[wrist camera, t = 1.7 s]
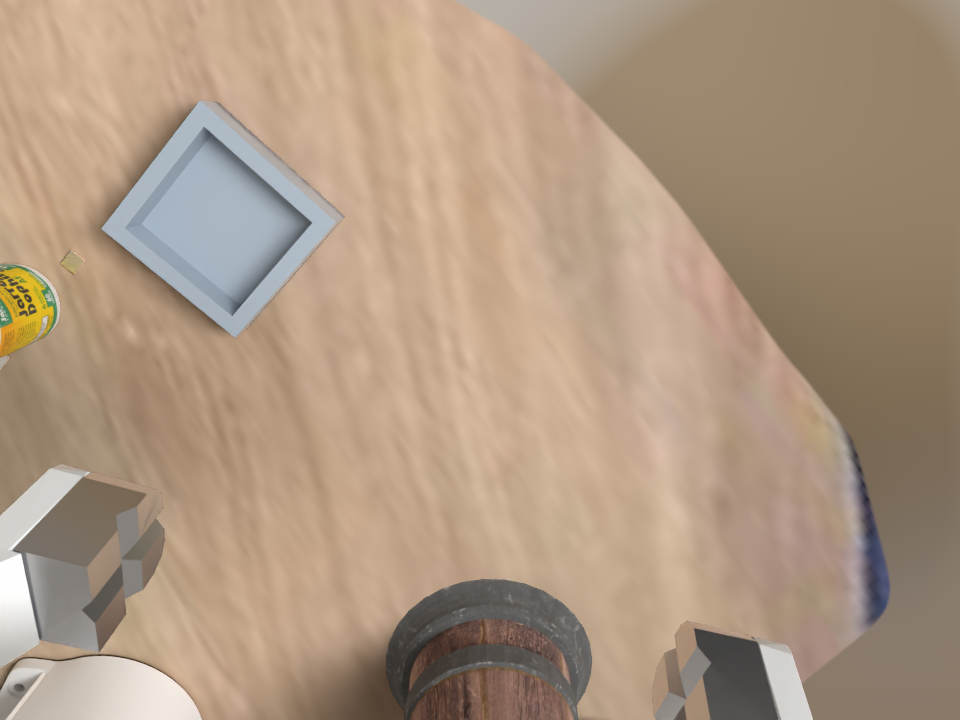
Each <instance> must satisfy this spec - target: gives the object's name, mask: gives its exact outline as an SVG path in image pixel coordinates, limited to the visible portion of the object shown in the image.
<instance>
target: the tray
mask: <svg viewBox="0 0 960 720" xmlns="http://www.w3.org/2000/svg"><path fill="white" fill-rule="evenodd" d="M343 218H344V216H343V215H342V214H341V213H340V212H339V211H338V210H337V209H336V208H334V207H333V206H332V205H331V204H330V203H329V202H328V201H327V200H326V199H325V198H323V197H322V196H321V195H320V194H319V193H318V192H317V191H316V190H315V189H313V188H312V187H311V186H310V185H309V184H308V183H307V182H306V181H305V180H304V179H302V178H301V177H300V176H299V175H298V174H297V173H296V172H295V171H294V170H292V169H291V168H290V167H289V166H288V165H287V164H286V163H285V162H284V161H283V160H281V159H280V158H279V157H278V156H277V155H276V154H275V153H274V152H273V151H271V150H270V149H269V148H268V147H267V146H266V145H265V144H264V143H263V142H262V141H260V140H259V139H258V138H257V137H256V136H255V135H254V134H253V133H252V132H250V131H249V130H248V129H247V128H246V127H245V126H244V125H243V124H242V123H241V122H239V121H238V120H237V119H236V118H235V117H234V116H233V115H232V114H231V113H229V112H228V111H227V110H226V109H225V108H224V107H223V106H222V105H221V104H220V103H216V102H209V101H202V100H200V101H199V102H198V104H197V105H196V106H195V108H194V109H193V110H192V112H191V113H190V114H189V115H188V117H187V118H186V119H185V121H184V122H183V123H182V125H181V126H180V127H179V128H178V130H177V131H176V132H175V134H174V135H173V136H172V138H171V139H170V140H169V141H168V143H167V144H166V145H165V147H164V148H163V149H162V151H161V152H160V153H159V154H158V156H157V157H156V158H155V160H154V161H153V162H152V164H151V165H150V166H149V168H148V169H147V170H146V171H145V173H144V174H143V175H142V177H141V178H140V179H139V181H138V182H137V183H136V184H135V186H134V187H133V188H132V190H131V191H130V192H129V194H128V195H127V196H126V197H125V199H124V200H123V201H122V203H121V204H120V205H119V207H118V208H117V209H116V210H115V212H114V213H113V214H112V216H111V217H110V218H109V220H108V221H107V222H106V223H105V225H104V226H103V227H102V230H103V231H104V232H106V233H107V234H108V235H109V236H111V237H112V238H113V239H114V240H115V241H117V242H118V243H119V244H120V245H122V246H123V247H124V248H125V249H126V250H128V251H129V252H130V253H131V254H133V255H134V256H135V257H136V258H138V259H139V260H140V261H141V262H142V263H144V264H145V265H146V266H147V267H149V268H150V269H151V270H152V271H154V272H155V273H156V274H157V275H158V276H160V277H161V278H162V279H163V280H165V281H166V282H167V283H168V284H170V285H171V286H172V287H173V288H174V289H176V290H177V291H178V292H179V293H181V294H182V295H183V296H184V297H186V298H187V299H188V300H189V301H190V302H192V303H193V304H194V305H195V306H197V307H198V308H199V309H200V310H201V311H203V312H204V313H205V314H206V315H208V316H209V317H210V318H211V319H213V320H214V321H215V322H216V323H217V324H219V325H220V326H221V327H222V328H224V329H225V330H226V331H227V332H229V333H230V334H231V335H232V336H233V337H235V338H236V337H237V336H238V335H239V334H240V333H241V332H243V331H244V330H245V329H246V328H247V327H249V326H250V325H251V323H252V322H253V321H254V320H255V319H256V318H257V317H258V315H259V314H260V313H261V312H262V311H263V310H264V309H265V307H266V306H267V305H268V304H269V303H270V302H271V300H272V299H273V298H274V297H275V296H276V295H277V294H278V292H279V291H280V290H281V289H282V288H283V287H284V286H285V284H286V283H287V282H288V281H289V280H290V279H291V278H292V276H293V275H294V274H295V273H296V272H297V271H298V269H299V268H300V267H301V266H302V265H303V264H304V263H305V261H306V260H307V259H308V258H309V257H310V256H311V255H312V253H313V252H314V251H315V250H316V249H317V248H318V246H319V245H320V244H321V243H322V242H323V241H324V240H325V238H326V237H327V236H328V235H329V234H330V233H331V232H332V230H333V229H334V228H335V227H336V226H337V225H338V224H339V222H340V221H341V220H342V219H343Z"/></svg>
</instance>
